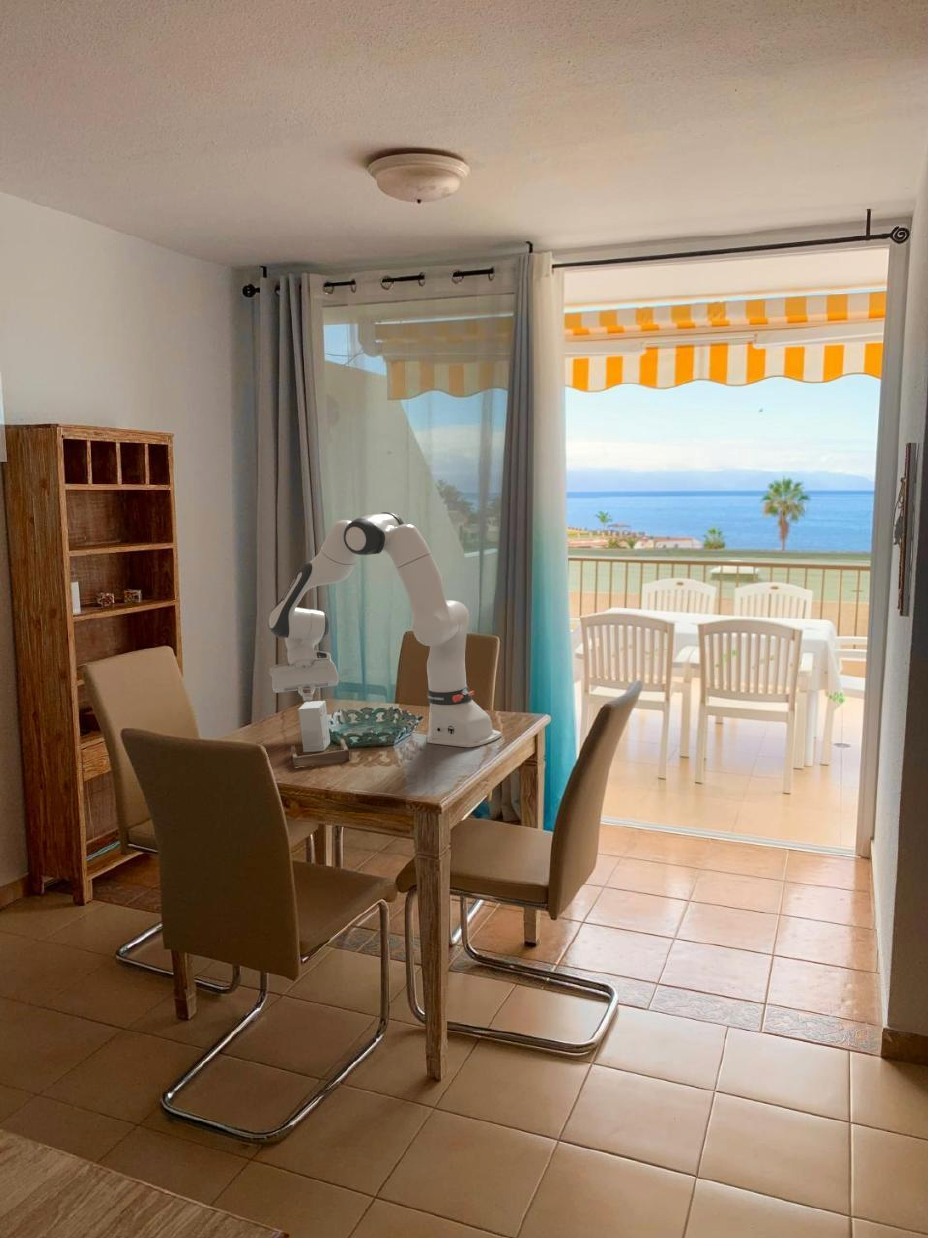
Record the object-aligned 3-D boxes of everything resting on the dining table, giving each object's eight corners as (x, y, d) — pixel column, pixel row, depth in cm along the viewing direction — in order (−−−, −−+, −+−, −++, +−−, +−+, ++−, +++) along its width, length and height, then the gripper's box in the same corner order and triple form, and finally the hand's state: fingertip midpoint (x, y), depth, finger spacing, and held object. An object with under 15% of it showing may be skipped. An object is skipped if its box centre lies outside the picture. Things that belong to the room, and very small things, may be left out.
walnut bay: (292, 756, 274) (290, 745, 274) (344, 748, 277) (343, 738, 277) (294, 768, 262) (293, 758, 262) (349, 760, 265) (348, 750, 265)
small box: (310, 744, 285) (305, 701, 283) (330, 743, 284) (326, 700, 282) (302, 752, 277) (297, 708, 275) (324, 751, 276) (319, 707, 274)
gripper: (268, 660, 295) (273, 698, 287) (334, 652, 299) (341, 690, 291) (269, 671, 300) (273, 709, 292) (334, 663, 304) (341, 700, 296)
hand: (308, 699), depth 292 cm, fingers closed
